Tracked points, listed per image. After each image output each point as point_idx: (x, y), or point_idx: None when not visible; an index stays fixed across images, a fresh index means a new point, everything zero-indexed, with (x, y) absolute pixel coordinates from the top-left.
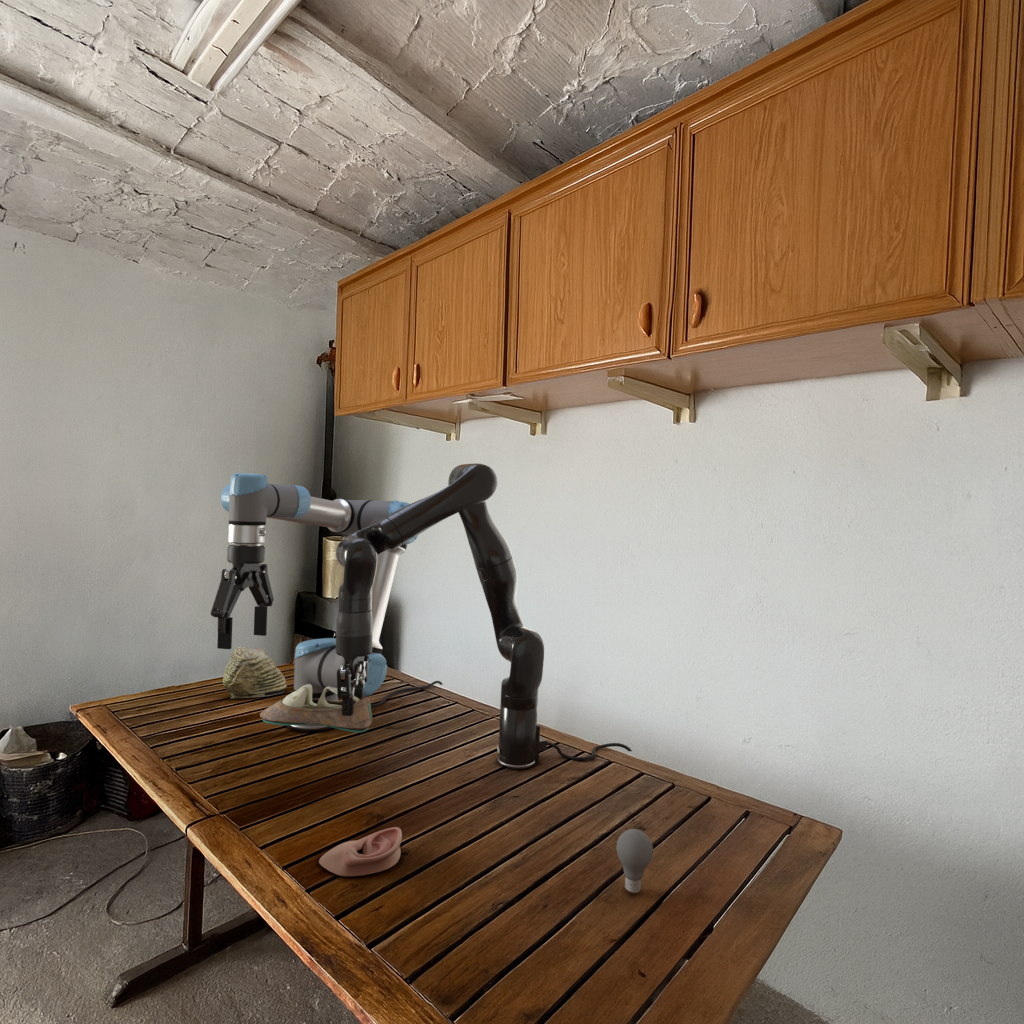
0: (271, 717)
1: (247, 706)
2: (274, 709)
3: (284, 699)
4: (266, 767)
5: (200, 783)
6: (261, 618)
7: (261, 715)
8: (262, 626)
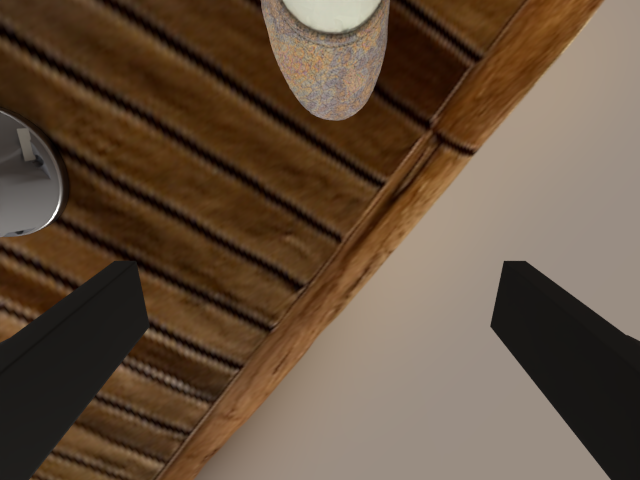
0: (382, 56)
1: None
2: (376, 48)
3: (363, 9)
4: (247, 150)
5: (337, 223)
6: (66, 357)
7: (363, 103)
8: (105, 308)
